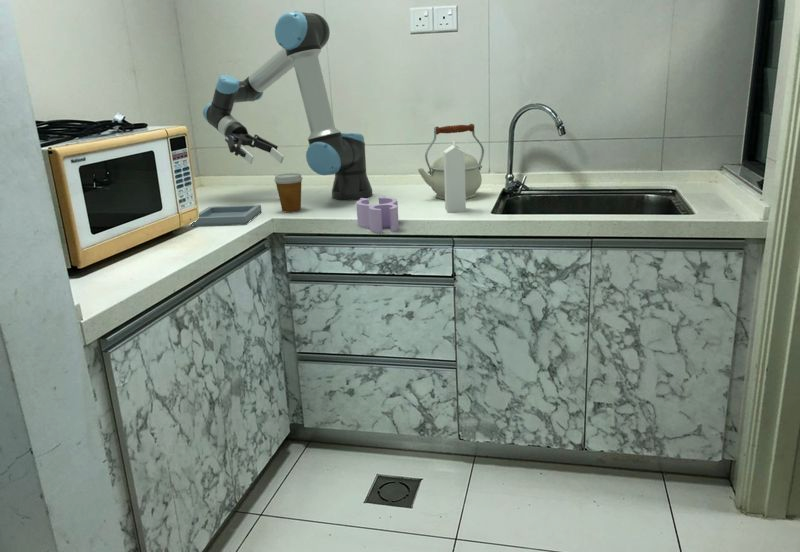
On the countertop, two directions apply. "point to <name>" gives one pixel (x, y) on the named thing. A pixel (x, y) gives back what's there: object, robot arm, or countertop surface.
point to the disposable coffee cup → (289, 191)
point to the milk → (454, 179)
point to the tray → (227, 215)
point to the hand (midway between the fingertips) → (267, 160)
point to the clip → (378, 214)
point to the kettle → (437, 172)
